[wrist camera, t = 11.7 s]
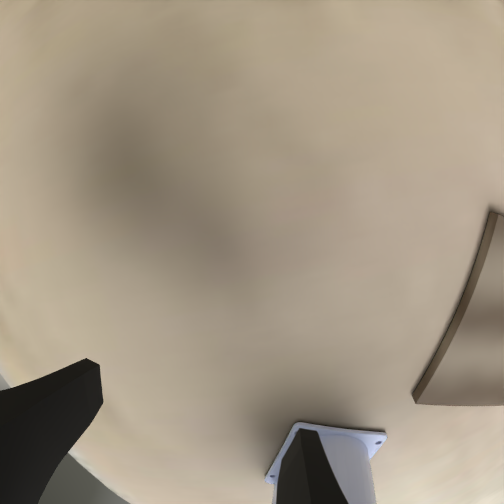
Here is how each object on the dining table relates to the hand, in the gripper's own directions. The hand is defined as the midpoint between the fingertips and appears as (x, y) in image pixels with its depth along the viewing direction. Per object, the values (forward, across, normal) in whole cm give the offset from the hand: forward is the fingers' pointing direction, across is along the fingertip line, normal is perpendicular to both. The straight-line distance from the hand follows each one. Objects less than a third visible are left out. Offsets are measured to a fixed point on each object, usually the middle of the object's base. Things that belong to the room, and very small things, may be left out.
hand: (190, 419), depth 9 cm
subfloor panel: (+9, -23, -3) cm, 25 cm away
